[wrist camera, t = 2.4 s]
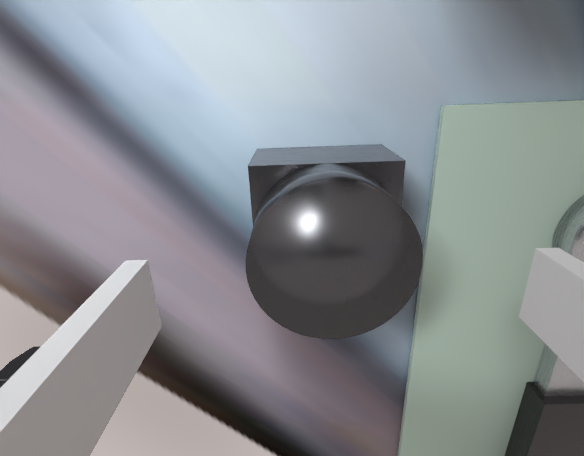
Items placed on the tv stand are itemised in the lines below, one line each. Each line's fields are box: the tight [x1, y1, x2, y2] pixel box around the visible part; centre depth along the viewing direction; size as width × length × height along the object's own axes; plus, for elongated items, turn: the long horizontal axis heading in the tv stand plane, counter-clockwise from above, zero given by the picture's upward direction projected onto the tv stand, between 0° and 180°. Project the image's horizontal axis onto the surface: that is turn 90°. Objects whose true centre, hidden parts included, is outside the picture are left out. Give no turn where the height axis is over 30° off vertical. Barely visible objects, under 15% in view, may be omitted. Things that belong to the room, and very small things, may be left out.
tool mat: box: [398, 100, 584, 456], centre depth 22 cm, size 28×20×1 cm
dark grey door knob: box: [246, 144, 423, 339], centre depth 16 cm, size 6×6×7 cm
